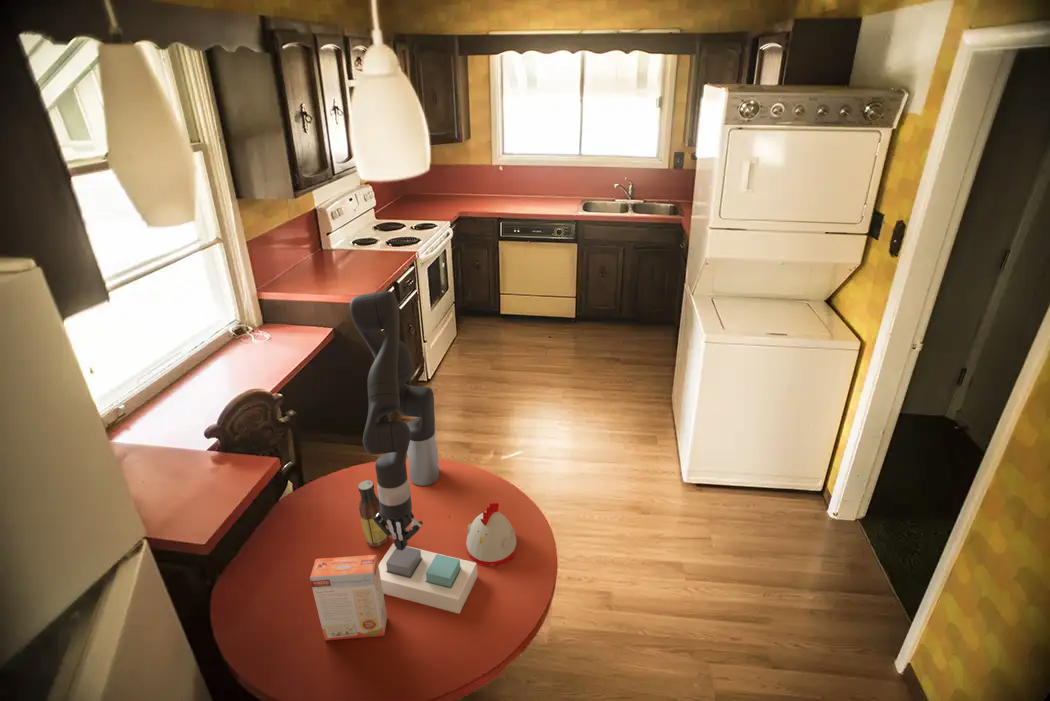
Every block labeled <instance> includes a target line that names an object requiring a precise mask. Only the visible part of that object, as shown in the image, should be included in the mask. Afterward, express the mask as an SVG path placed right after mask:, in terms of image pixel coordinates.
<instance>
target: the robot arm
mask: <svg viewBox="0 0 1050 701" xmlns="http://www.w3.org/2000/svg"><path fill="white" fill-rule="evenodd" d="M349 313H350V316H351V319H352V322H353V325H354V326H355V329H356V330H357V331H358V333H359V335H360V336H361V337H362V339H363V341H364V342H365V344H366V345H367V347H368V348H369V350H370V352H371V354H372V356H373V358H374V360H373V363H372V364H371V366H370V369H369V371H368V376H367V397H368V398H367V399H368V411H367V418H366V422H365V426H364V431H363V436H362V444H363V448H364V451H366V452H367V454H370V455H374V456H375V455H381V456H380V457H379V458H377V459H376V460H375V466H374V468H375V475H376V482H377V486H376V489H377V495H378V497H377V498H378V499H379V504H380V511H381V512H378V513H377V515H376V516H375V517H374V519H373V520H374V521H375V522H376V524H377V525H378V526H379V527H380V528H381V529H382V530H383V532H384V533H385V534H386V535H387V536H388V537H390V536H391V538H392V539H393V543H394V544H395V547H397V550H401V551H403V549H405V547H406V546H408V541H409V540H411V539H412V537H413V536H415V534H417V533H418V532H419V530H420V529H421V527H422V526H423V521H422V520H418V521H417V520H416V519H415V515H414V514H413V512H412V509H413V507H412V506H413V504H412V503H413V502H412V497H411V488H410V487H411V486H410V481H411V483H412V484H414V485H416V486H419V487H420V486H421V487H426V486H429V485H432V484H434V483H436V482H437V481H438V479H439V477H440V473H439V471H440V465H439V453H438V446H437V439H436V428H435V427H436V423H435V421H436V419H435V397H434V391H433V390H432V388H431V387H429V386H416V385H409V384H407V382H408V381H409V379H410V378H411V376H412V375H413V372H414V370H415V369H414V368H415V363H414V360H413V357H412V354H411V352H410V350H409V348H408V347H407V345H406V344H405V343H404V342H403V341H401V340H400V322H401V321H400V320H401V319H400V308H399V303H398V300H397V297H396V296H395V294H394V292H392V291H390V290H386V291H378V292H370V293H363V294H360V295H356V296H354V297H353V298H352V299H351V300H350V302H349ZM383 330H384V331H383ZM394 412H397V413H398V414H399V415H401V416H405V417H413V419H411V420H409V421H408V422H407V423H406V422H405V421H403V420H393V421H385V422H384V421H383V422H382V421H381V422H380V419H381V418H382V417H384V416H386V415H389V414H393V413H394ZM382 454H383V455H382ZM407 461H408V468H407ZM407 470H408V471H409V476H408V471H407ZM408 477H409V478H410V481H409V478H408ZM386 526H387V528H386ZM409 526H410V529H409V530H408V527H409Z"/></svg>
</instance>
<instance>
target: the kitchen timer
mask: <svg viewBox="0 0 1050 701" xmlns="http://www.w3.org/2000/svg"><path fill="white" fill-rule="evenodd" d="M499 506H500V504H499V502H492V503H491V502H490V503H489V506H486V511H482V513H480V514H479V515H477V516H476V517H475V518H474V519H473V521H472V522H471V523H469V524H468V526H467V529H466V533H467V537H466V544H465V545H466V547H465V548H466V553H467V555H468V557H469V558H470V559H471V561H472V562H474V561H475V563H476V564H478V565H480V564H481V565H480V566H486V567H497V566H500V565H503V564H505V563H506V562H508V561H510V559H512V558H513V557H514V556H515V554H516V551H517V542H518V541H517V537H516V532H515V529H514V528H513V526H512V524H511V522H510V520H508V518H507V517H506V516H505V515H504V514H502V513H501V512H500V511H499Z"/></svg>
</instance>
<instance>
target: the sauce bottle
mask: <svg viewBox="0 0 1050 701" xmlns="http://www.w3.org/2000/svg"><path fill="white" fill-rule="evenodd" d="M357 488H358V492H359V493H360V500H359V502H358V510H359V517H360V521H361V525H362V530H363V534H364V538H365V541H366V543H367V545H368V546H370V547H374V548H376V547H380V546H383V545H384V544H385V543H387V541H388V537H389V536H387V535H386V534H385V533H384V532H383V530H382V529H381V528H380V527H379V526H378V525H377V524H376V522H375V521H374V520H373V519H374V517H375V516H376V515H377V513H378V512H381V511H380V504H379V497H377V495H376V492H375V485H374V482H373V481H371V480H369V479H368V480H363V481H361V482H359V484H358V486H357ZM386 528H387V529H388V526H387V525H386Z"/></svg>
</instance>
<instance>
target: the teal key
mask: <svg viewBox="0 0 1050 701" xmlns="http://www.w3.org/2000/svg"><path fill="white" fill-rule="evenodd" d="M439 554H440V553H437V554H436V556H435V558H434V560H433V561H432V563H431V565H430V566H429V568H428V570H427V572H426V579H427V583H431V584H435V585H439V586H443V587H446V588H450V589H451V588H452V586H453V584H454V582H455V580H456V578H457V576H458V574H459V572H460V570H461V569H460V559H461V558H458V559H455V558H456V557H454V558H451V557H452V556H450V557H447V556H448V555H446V556H443V555H444V554H442V555H439Z"/></svg>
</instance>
